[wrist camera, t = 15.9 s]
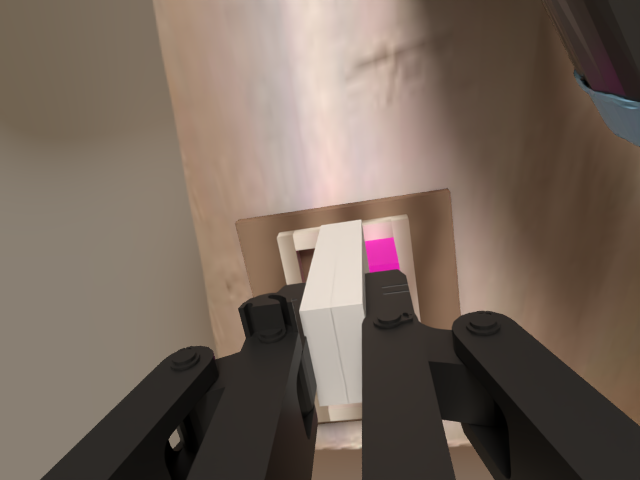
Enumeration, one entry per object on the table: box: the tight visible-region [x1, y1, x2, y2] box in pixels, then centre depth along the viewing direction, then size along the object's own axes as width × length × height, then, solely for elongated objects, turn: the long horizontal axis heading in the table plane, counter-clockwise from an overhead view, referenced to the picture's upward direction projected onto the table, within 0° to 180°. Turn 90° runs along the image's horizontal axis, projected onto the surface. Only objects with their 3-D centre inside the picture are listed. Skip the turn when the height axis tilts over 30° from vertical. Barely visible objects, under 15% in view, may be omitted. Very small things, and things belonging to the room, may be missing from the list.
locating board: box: [235, 189, 461, 424], centre depth 46 cm, size 20×24×3 cm
